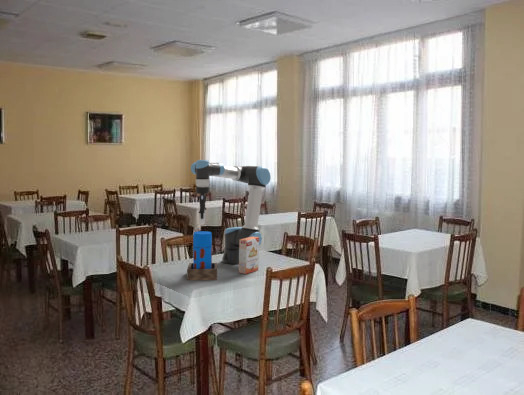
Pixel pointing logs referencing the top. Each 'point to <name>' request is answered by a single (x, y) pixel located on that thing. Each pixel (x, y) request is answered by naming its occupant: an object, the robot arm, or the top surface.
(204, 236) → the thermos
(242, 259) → the cracker box
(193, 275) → the open wooden box
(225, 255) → the robot arm
